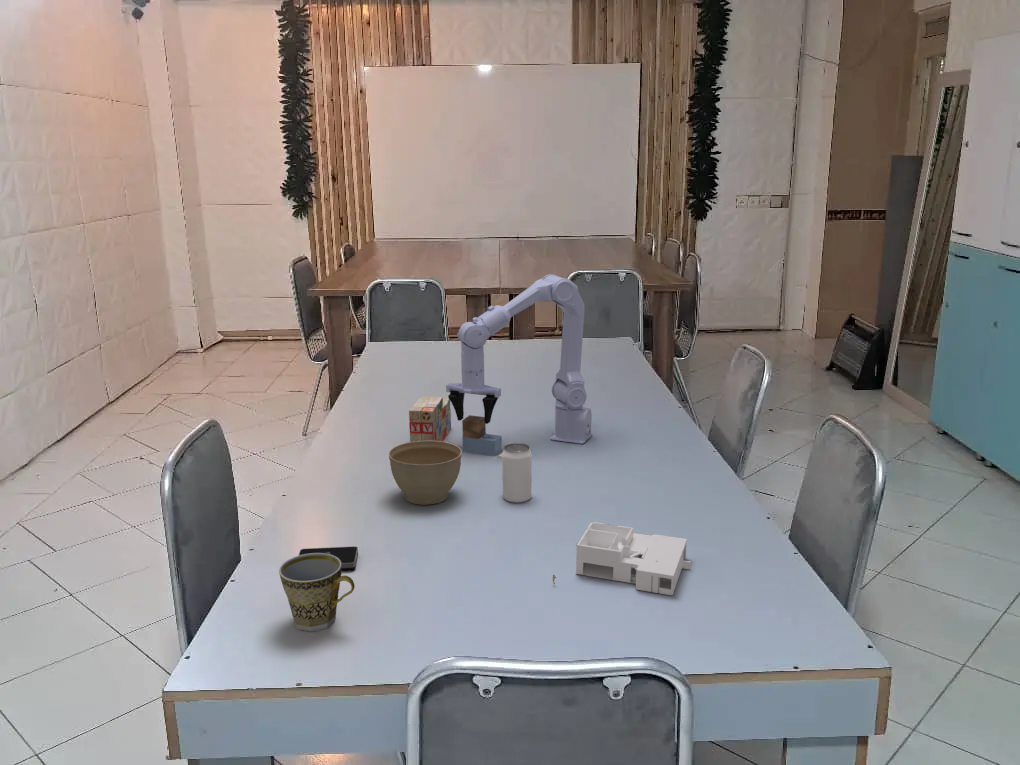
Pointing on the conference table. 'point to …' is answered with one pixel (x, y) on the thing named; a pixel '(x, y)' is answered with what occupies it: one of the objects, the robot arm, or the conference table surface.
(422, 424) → the stack of blocks
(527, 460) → the can
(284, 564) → the ceramic cup
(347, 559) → the external hard drive
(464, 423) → the walnut brick
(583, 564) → the house
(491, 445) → the base brick
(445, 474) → the planter bowl
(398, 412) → the conference table surface
